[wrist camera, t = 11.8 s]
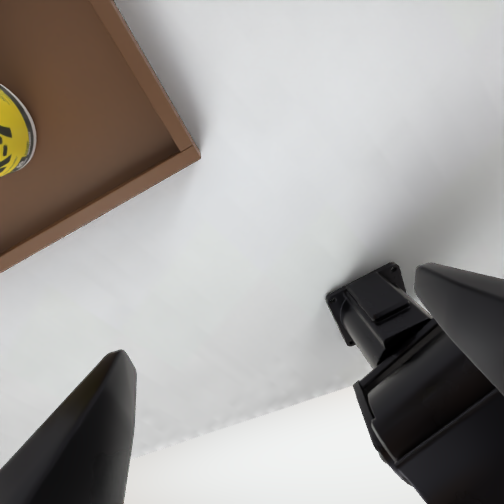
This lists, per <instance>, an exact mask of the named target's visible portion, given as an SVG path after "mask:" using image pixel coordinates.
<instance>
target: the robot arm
mask: <svg viewBox="0 0 504 504" xmlns="http://www.w3.org/2000/svg"><path fill="white" fill-rule="evenodd" d="M392 268H393V269H392ZM391 269H392V270H391ZM414 290H415V293H416V295H417V297H418V298H419V299H420V301H421V302H422V303H423V304H424V306H425V307H426V308H427V310H428V311H429V312H430V314H431V315H430V314H429V313H428V312H427V311H426V310H425V309H424V308H422V307H421V306H420V305H419V304H418V303H417V302H416V301H414V300H413V299H412V298H411V297H410V296H409V295H408V294H407V293H406V289H405V286H404V282H403V279H402V275H401V272H400V268H399V266H398V265H397V264H396V263H394V262H390V263H388V264H386V265H384V266H382V267H380V268H378V269H377V270H375V271H373V272H371V273H369V274H367V275H365V276H363V277H361V278H359V279H357V280H355V281H353V282H351V283H349V284H348V285H346V286H344V287H342V288H340V289H338V290H336V291H334V292H332V293H330V294H328V295H327V296H326V299H325V300H326V303H327V305H328V307H329V309H330V311H331V313H332V315H333V317H334V319H335V322H336V324H337V326H338V328H339V330H340V332H341V334H342V336H343V338H344V340H345V342H346V344H347V345H348V346H354V345H357V346H358V348H359V349H360V351H361V352H362V354H363V355H364V357H365V358H366V360H367V361H368V362H369V364H370V365H371V367H372V368H373V370H372V371H371V372H370V373H369V374H367V375H366V376H365V377H364V378H363V379H362V380H361V381H359V380H358V381H357V382H356V383H355V384H354V385H353V387H354V390H355V393H356V396H357V400H358V403H359V406H360V408H361V411H362V414H363V416H364V420H365V423H366V425H367V428H368V431H369V434H370V437H371V440H372V442H373V445H374V447H375V449H376V450H377V451H378V452H379V455H380V457H381V459H382V460H383V461H384V462H385V463H387V464H388V465H389V466H390V467H391V468H392V469H393V471H394V472H395V473H396V474H397V475H398V476H399V477H400V478H401V479H402V480H404V481H405V482H406V483H407V484H409V485H411V486H413V487H414V488H415V489H416V491H417V492H418V493H419V494H420V496H421V497H422V498H423V499H424V501H425V502H426V503H427V504H504V279H500V278H495V277H491V276H487V275H483V274H478V273H474V272H470V271H465V270H461V269H457V268H452V267H448V266H444V265H439V264H435V263H426V264H423V265H419V266H417V268H416V270H415V281H414ZM333 298H334V299H333ZM331 299H333V300H331ZM330 300H331V301H330ZM136 382H137V373H136V369H135V367H134V365H133V364H132V362H131V360H130V358H129V357H128V355H127V353H126V352H125V351H124V350H117V351H114V352H110V353H108V354H107V355H106V356H105V357H104V358H103V359H102V360H101V361H100V362H99V363H98V364H97V366H96V367H95V368H94V369H93V370H92V371H91V372H90V373H89V374H88V375H87V376H86V377H85V379H84V380H83V381H82V382H81V383H80V384H79V385H78V386H77V387H76V388H75V389H74V390H73V392H72V393H71V394H70V395H69V396H68V397H67V398H66V399H65V400H64V401H63V402H62V403H61V405H60V406H59V407H58V408H57V409H56V410H55V411H54V412H53V413H52V414H51V415H50V416H49V418H48V419H47V420H46V421H45V422H44V423H43V424H42V425H41V426H40V427H39V428H38V429H37V431H36V432H35V433H34V434H33V435H32V436H31V437H30V438H29V439H28V440H27V441H26V442H25V444H24V445H23V446H22V447H21V448H20V449H19V450H18V451H17V452H16V453H15V454H14V455H13V457H12V458H11V459H10V460H9V461H8V462H7V463H6V464H5V465H4V466H3V467H2V468H1V469H0V504H123V503H124V497H125V490H126V483H127V477H128V469H129V463H130V456H131V450H132V443H133V436H134V427H135V406H136Z"/></svg>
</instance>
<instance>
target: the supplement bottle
mask: <svg viewBox="0 0 504 504" xmlns="http://www.w3.org/2000/svg"><path fill="white" fill-rule="evenodd" d="M35 148H36V129H35V125H34V122H33V120H32V118H31V116H30V114H29V112H28V111H27V109H26V107H25V106H24V105H23V103H22V102H21V101H20V100H19V99H18V98H17V97H16V96H15V95H14V94H13V93H12V92H11V91H10V90H8V89H7V88H6V87H4V86H3V85H1V84H0V177H2V176H4V175H7V174H10V173H13V172H15V171H18V170H20V169H21V168H23V167H24V166H25V165H26V164H27V163H28V162H29V161H30V160H31V158H32V156H33V154H34V152H35Z"/></svg>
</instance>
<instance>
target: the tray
mask: <svg viewBox="0 0 504 504" xmlns="http://www.w3.org/2000/svg"><path fill="white" fill-rule="evenodd" d="M0 84H1V85H3V86H4V87H6V88H7V89H8V90H10V91H11V92H12V93H13V94H14V95H15V96H16V97H17V98H18V99H19V100H20V101H21V102H22V103H23V105H24V106H25V107H26V109H27V111H28V112H29V114H30V116H31V118H32V120H33V122H34V125H35V129H36V148H35V152H34V154H33V156H32V158H31V160H30V161H29V162H28V163H27V164H26V165H25V166H24V167H23V168H21V169H20V170H18V171H15V172H13V173H10V174H7V175H4V176H2V177H0V273H1V272H3V271H5V270H7V269H8V268H10V267H12V266H14V265H15V264H17V263H19V262H21V261H22V260H24V259H26V258H28V257H29V256H31V255H33V254H35V253H36V252H38V251H40V250H42V249H43V248H45V247H47V246H49V245H50V244H52V243H54V242H56V241H57V240H59V239H61V238H63V237H64V236H66V235H68V234H70V233H71V232H73V231H75V230H77V229H78V228H80V227H82V226H84V225H85V224H87V223H89V222H91V221H92V220H94V219H96V218H98V217H100V216H101V215H103V214H105V213H107V212H108V211H110V210H112V209H114V208H115V207H117V206H119V205H121V204H122V203H124V202H126V201H128V200H129V199H131V198H133V197H135V196H136V195H138V194H140V193H142V192H143V191H145V190H147V189H149V188H150V187H152V186H154V185H156V184H157V183H159V182H161V181H163V180H164V179H166V178H168V177H170V176H171V175H173V174H175V173H177V172H178V171H180V170H182V169H184V168H185V167H187V166H189V165H191V164H192V163H194V162H196V161H198V160H199V159H201V154H200V151H199V149H198V148H197V146H196V144H195V142H194V141H193V139H192V137H191V135H190V134H189V132H188V130H187V128H186V127H185V125H184V123H183V121H182V120H181V118H180V116H179V114H178V113H177V111H176V109H175V107H174V106H173V104H172V102H171V100H170V99H169V97H168V95H167V93H166V92H165V90H164V88H163V86H162V85H161V83H160V81H159V79H158V78H157V76H156V74H155V72H154V71H153V69H152V67H151V65H150V64H149V62H148V60H147V58H146V57H145V55H144V53H143V52H142V50H141V48H140V46H139V45H138V43H137V41H136V39H135V38H134V36H133V34H132V32H131V31H130V29H129V27H128V25H127V24H126V22H125V20H124V18H123V17H122V15H121V13H120V11H119V10H118V8H117V6H116V4H115V3H114V1H113V0H0Z"/></svg>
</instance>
